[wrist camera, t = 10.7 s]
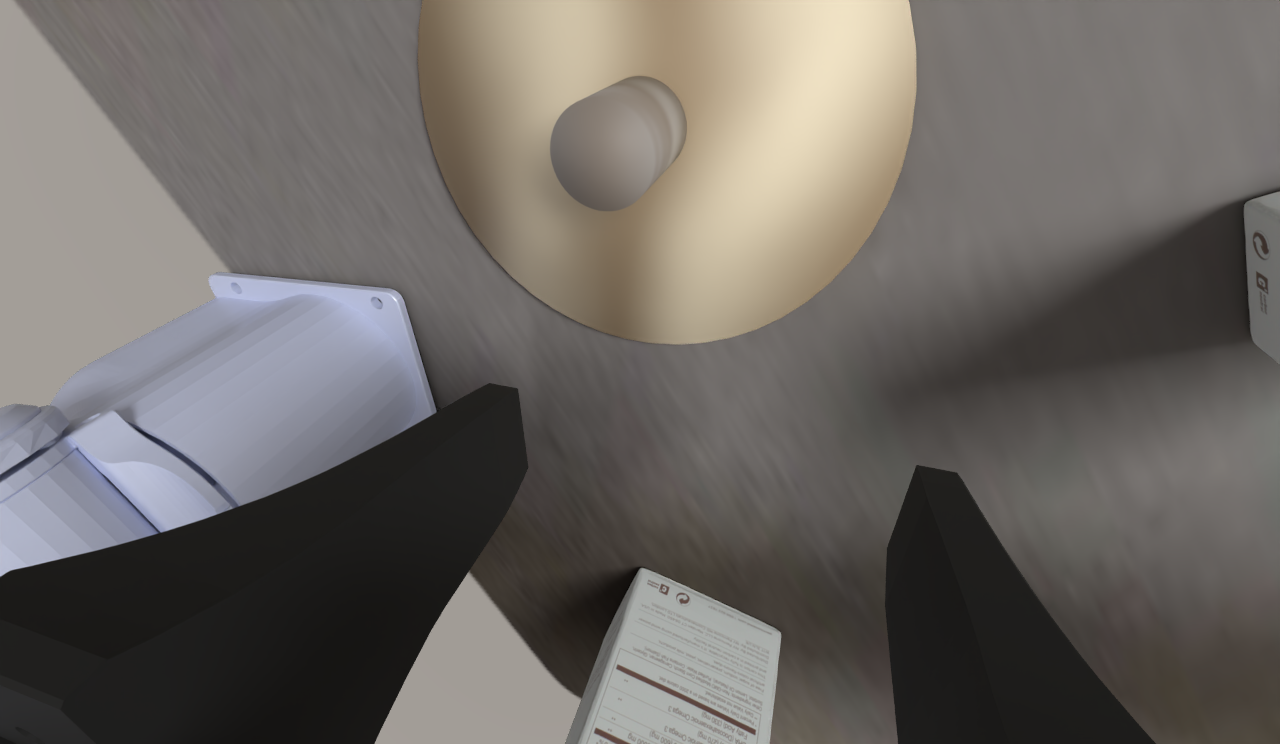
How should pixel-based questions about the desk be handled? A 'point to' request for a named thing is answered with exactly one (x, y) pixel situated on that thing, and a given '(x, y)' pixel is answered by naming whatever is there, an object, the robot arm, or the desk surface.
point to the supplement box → (679, 672)
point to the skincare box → (1264, 271)
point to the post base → (735, 180)
